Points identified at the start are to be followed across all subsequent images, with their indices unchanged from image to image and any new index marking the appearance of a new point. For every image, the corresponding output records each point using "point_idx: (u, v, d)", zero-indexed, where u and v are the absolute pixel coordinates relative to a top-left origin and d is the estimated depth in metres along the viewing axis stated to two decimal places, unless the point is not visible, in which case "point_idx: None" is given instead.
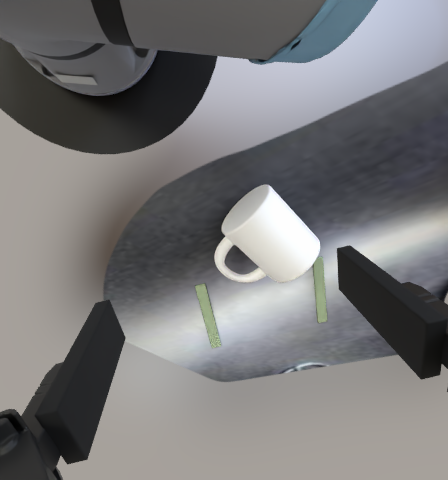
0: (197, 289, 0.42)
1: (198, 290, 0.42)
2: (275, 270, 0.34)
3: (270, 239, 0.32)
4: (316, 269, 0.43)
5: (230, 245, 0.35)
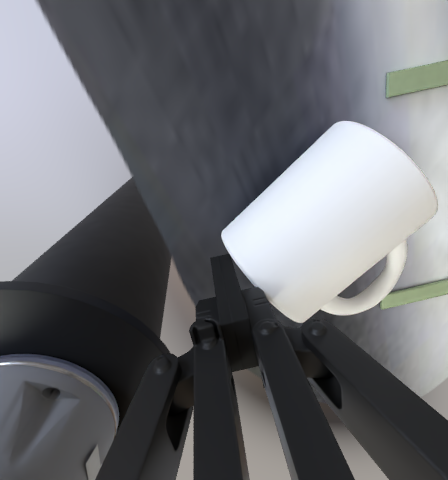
0: (388, 306, 0.26)
1: (389, 305, 0.26)
2: (400, 241, 0.16)
3: (329, 270, 0.15)
4: (414, 85, 0.19)
5: None
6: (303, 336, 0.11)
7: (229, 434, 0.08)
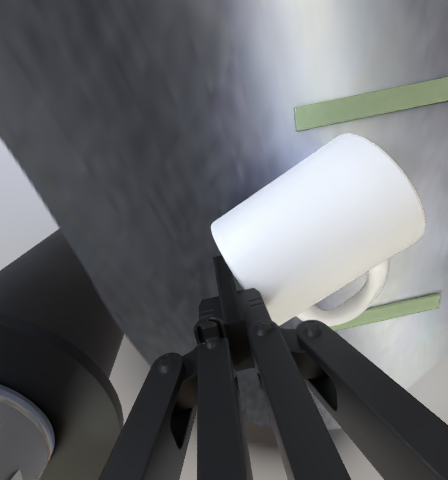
0: None
1: None
2: (385, 258, 0.16)
3: (314, 275, 0.15)
4: (323, 119, 0.19)
5: None
6: (298, 337, 0.11)
7: (233, 434, 0.08)
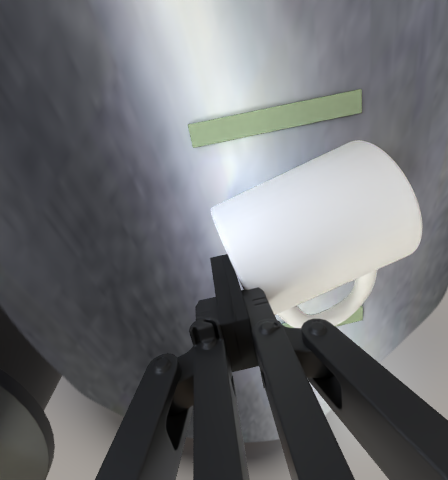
0: None
1: None
2: (377, 266, 0.16)
3: (309, 270, 0.15)
4: (218, 135, 0.19)
5: None
6: (303, 336, 0.11)
7: (229, 434, 0.08)
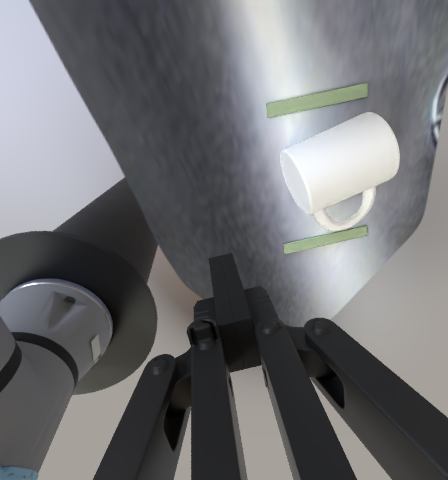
0: (289, 251, 0.40)
1: (289, 251, 0.40)
2: (376, 180, 0.30)
3: (340, 177, 0.29)
4: (283, 110, 0.33)
5: (323, 211, 0.33)
6: (306, 335, 0.11)
7: (227, 435, 0.08)
